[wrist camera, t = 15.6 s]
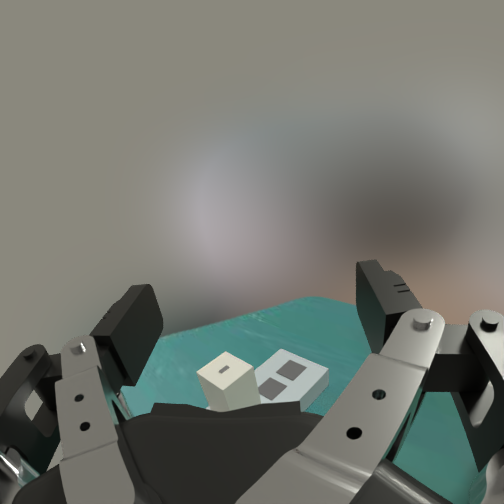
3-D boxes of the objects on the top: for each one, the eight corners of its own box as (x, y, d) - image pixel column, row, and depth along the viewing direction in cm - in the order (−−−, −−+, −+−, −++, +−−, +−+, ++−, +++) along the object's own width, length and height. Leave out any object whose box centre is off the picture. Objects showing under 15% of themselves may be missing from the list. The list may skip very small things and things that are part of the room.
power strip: (283, 364, 49) (280, 345, 47) (328, 384, 43) (328, 365, 41) (188, 440, 37) (179, 423, 35) (233, 477, 30) (225, 462, 29)
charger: (243, 412, 40) (225, 350, 35) (266, 427, 37) (253, 365, 32) (220, 431, 37) (195, 371, 32) (243, 448, 34) (222, 389, 29)
